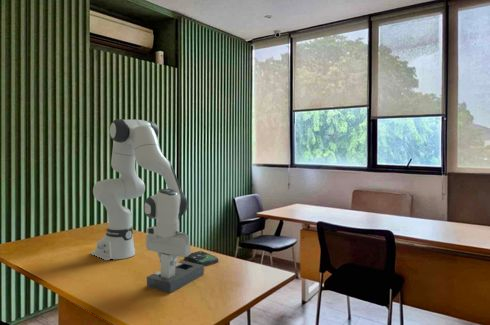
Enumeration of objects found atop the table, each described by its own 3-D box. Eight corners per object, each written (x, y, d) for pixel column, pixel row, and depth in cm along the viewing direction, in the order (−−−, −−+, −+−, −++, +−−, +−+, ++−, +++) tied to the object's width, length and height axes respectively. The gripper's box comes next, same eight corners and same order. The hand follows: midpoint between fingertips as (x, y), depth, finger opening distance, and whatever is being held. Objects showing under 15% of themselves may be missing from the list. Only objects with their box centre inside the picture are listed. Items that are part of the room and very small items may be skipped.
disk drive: (183, 260, 169) (201, 268, 158) (183, 254, 169) (201, 262, 158) (200, 255, 176) (219, 262, 166) (200, 250, 176) (219, 257, 165)
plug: (160, 278, 137) (160, 253, 137) (168, 274, 141) (168, 250, 141) (168, 280, 135) (168, 255, 135) (176, 276, 139) (176, 252, 139)
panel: (146, 286, 136) (146, 276, 136) (181, 269, 155) (181, 260, 155) (170, 293, 130) (170, 282, 130) (203, 274, 150) (203, 264, 150)
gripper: (193, 231, 135) (193, 266, 136) (154, 225, 144) (154, 257, 145) (183, 235, 129) (183, 271, 130) (143, 228, 139) (143, 262, 140)
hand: (168, 264), depth 138 cm, fingers closed on plug, 4 cm apart
